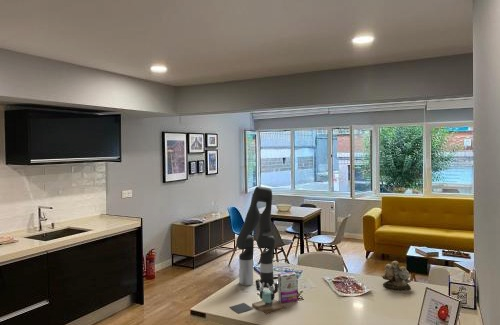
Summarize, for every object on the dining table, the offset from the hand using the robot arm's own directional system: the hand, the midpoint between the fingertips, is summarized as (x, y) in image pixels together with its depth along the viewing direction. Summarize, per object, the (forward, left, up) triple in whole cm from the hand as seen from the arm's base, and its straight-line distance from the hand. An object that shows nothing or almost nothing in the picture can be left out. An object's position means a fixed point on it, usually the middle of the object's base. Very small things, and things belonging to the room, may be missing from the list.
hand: (267, 298), depth 217 cm
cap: (0, 0, -1) cm, 1 cm away
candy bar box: (0, +16, -5) cm, 17 cm away
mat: (-7, -13, -5) cm, 16 cm away
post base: (+1, +1, -5) cm, 5 cm away
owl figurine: (+24, +87, -5) cm, 90 cm away
